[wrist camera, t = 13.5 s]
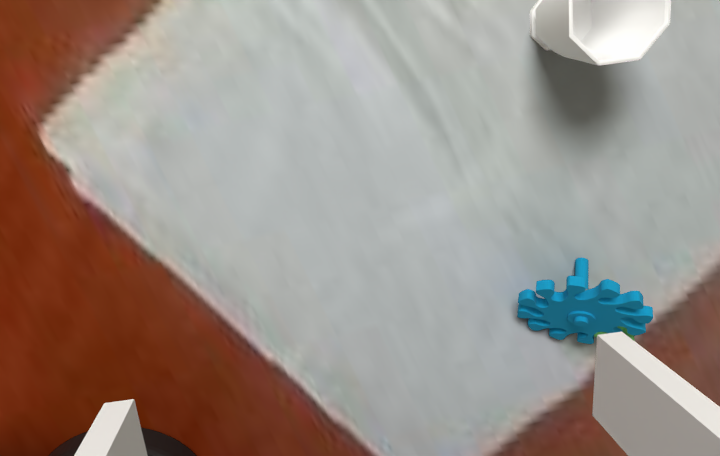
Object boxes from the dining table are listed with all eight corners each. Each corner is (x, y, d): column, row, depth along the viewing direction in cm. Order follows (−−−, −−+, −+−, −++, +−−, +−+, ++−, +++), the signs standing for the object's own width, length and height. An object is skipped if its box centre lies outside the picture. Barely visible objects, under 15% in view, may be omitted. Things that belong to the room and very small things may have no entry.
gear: (489, 309, 43) (601, 280, 35) (497, 250, 46) (601, 211, 38) (572, 361, 47) (688, 345, 40) (574, 303, 50) (681, 278, 43)
